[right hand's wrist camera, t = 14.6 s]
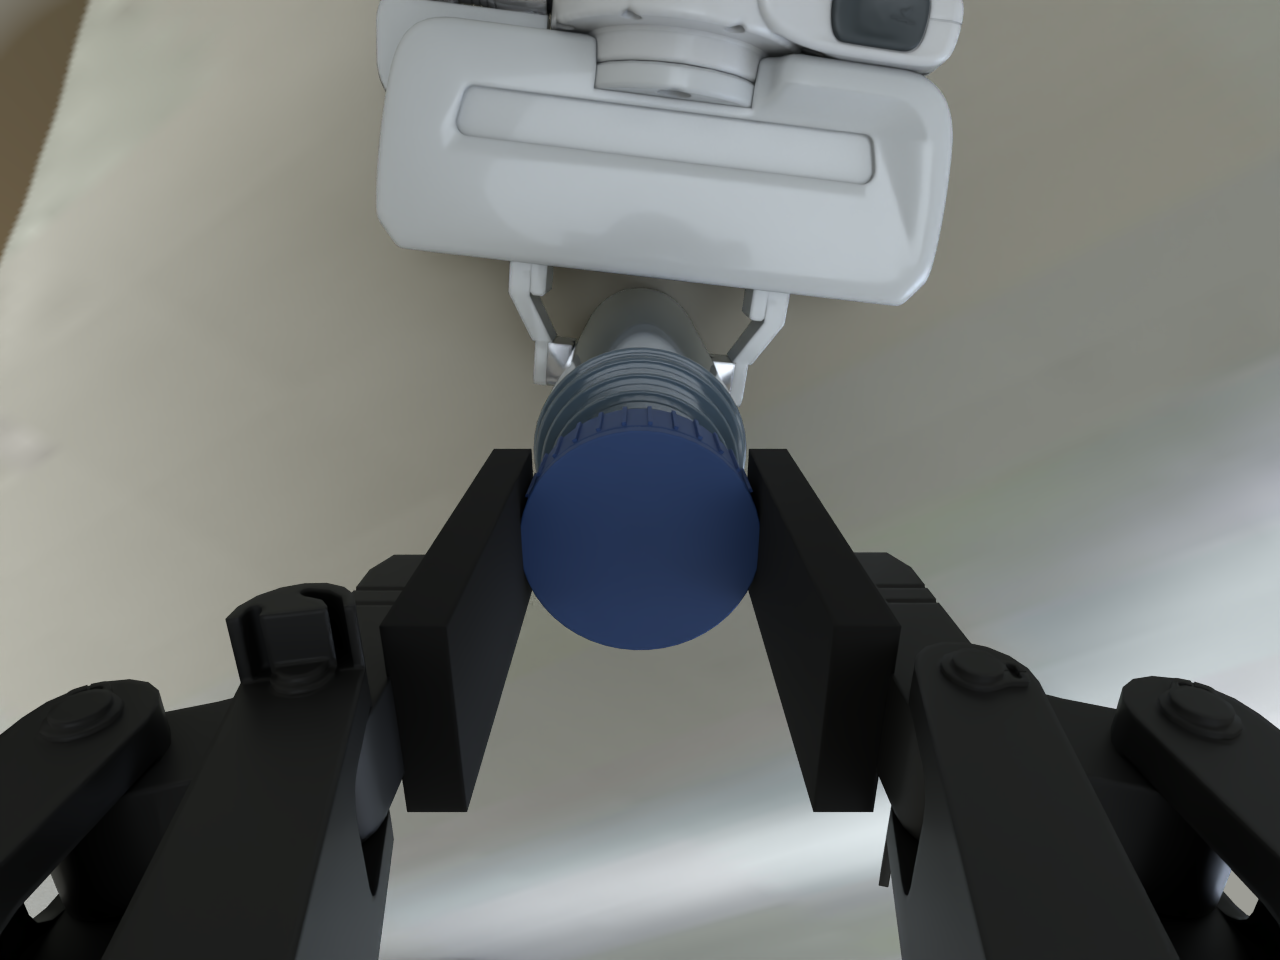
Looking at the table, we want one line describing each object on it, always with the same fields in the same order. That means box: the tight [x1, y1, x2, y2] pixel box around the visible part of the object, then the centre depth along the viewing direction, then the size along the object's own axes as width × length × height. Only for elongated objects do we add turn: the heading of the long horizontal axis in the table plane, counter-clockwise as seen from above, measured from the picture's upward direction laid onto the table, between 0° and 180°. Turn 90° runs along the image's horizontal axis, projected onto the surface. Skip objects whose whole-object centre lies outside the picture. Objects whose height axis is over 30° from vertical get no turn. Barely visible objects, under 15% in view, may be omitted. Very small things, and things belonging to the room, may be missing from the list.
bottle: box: [534, 288, 746, 473], centre depth 23 cm, size 6×6×22 cm
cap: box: [521, 406, 760, 650], centre depth 13 cm, size 5×5×2 cm
